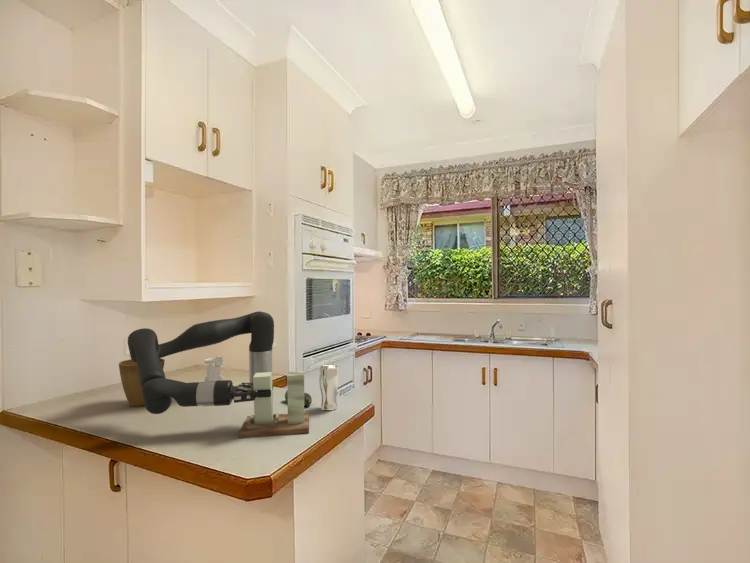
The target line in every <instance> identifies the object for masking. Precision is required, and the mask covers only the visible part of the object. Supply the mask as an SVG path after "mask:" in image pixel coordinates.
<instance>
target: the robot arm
mask: <svg viewBox="0 0 750 563" xmlns="http://www.w3.org/2000/svg"><path fill="white" fill-rule="evenodd" d="M246 334H247V335H248V334H250V336H251V337H250V342H249V345H248V346H249V348H248V361H249V362H248V365H249V366H248V367H249V368H248V369H249V370H248V371H249V374H248V376H249V377H248V380H249V381H248V382H241V383H240V384H238V385H234V384H233V383H234V382H233V381H232V380H231V379H222V380H219V381H205V380H204V381H200V382H199V381H197V382H196V381H194V382H193V381H192V382H184V381H182V380H181V381H180V380H174V379H171V378H166V374H165V370H164V368H162V365H161V362H160V359H159V358H162V359H163V358H165V357H168V356H171V355H174V354H178V353H182V352H186V351H190V350H194V349H198V348H199V349H200V348H204V347H208V346H212V345H216V344H220V343H222V342H225V341H227V340H230V339H232V338H233V337H237V336H240V335H246ZM158 338H159V337H158V336H157V333H156V332H155V330H153V329H152V328H147V327H146V328H145V327H143V328H138V329H136V330H134V331H132V332H130V333H129V335H128V337H127V346H128V351H129V356H130V359H132V361H134V362H137V368H138V375H139V380H140V384H141V387H142V394H143V398H144V403H145V409H146V410H147V412H149V413H150V414H153V415H160V414H163V413H165V412H167V410H169V408H170V407H171V405H172V399H173V400H174V401H176V403H177V404H178V406H179V407H182V408H183V407H185V408H186V407H220V406H221V407H223V406H230V405H231V404H232V403H234V404H235V403H236V404H237V403H246V402H254V400H255V399H257V398H262V397H270V396H271V390H270V389H267V390H254V389H253V377H254V375H255V373H263V372H272V373H273V345H274V343H275V342H274V340H275V339H274V338H275V322H274V318H273V316H272V315H271V314H270V313H268V312H265V311H260V310H259V311H255V312H251V313H248V314H244V315H242V316H237V317H233V318H225V319H218V320H217V319H216V320H209V321H203V322H199V323H196V324H193V325H191V326H189V328H187V329H185V331H183V332H182V333H180V334H179V335H178V336H177V337H175V338H174V339H172V340H169V341H166V342H163V343H160V344H159V340H158ZM272 390H273V391H274V385H273V384H272Z"/></svg>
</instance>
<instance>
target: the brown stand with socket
mask: <svg viewBox="0 0 750 563" xmlns="http://www.w3.org/2000/svg"><path fill="white" fill-rule="evenodd" d="M287 390H288V401H287V413H283V414H282V413H281V414H280V413H273V421H272V422H270V423H255V416H254V414H251V415H248V416H247V417H246V419H245V420H244V422H243V425H242V427H241V428H240V431H239V439H243V438H257V437H258V438H259V437H271V436H285V435H286V436H287V435H300V434H299V433H304V434H310V412H305V407H304V393H305V371H288V373H287Z"/></svg>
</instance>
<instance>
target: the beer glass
mask: <svg viewBox="0 0 750 563" xmlns="http://www.w3.org/2000/svg"><path fill="white" fill-rule="evenodd" d="M318 373H319V375H318V376H319V377H318V380H319V389H320V395H321V404H320V410H321V409H323V410H332V409H335V408H337V407H338V402H337V394H338V388H339V381H340V379H339V378H340V375H339V366H338V365H335V364H325V365H324V364H323V365H321V366H319V371H318ZM337 409H338V408H337ZM323 410H322V411H323Z"/></svg>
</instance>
